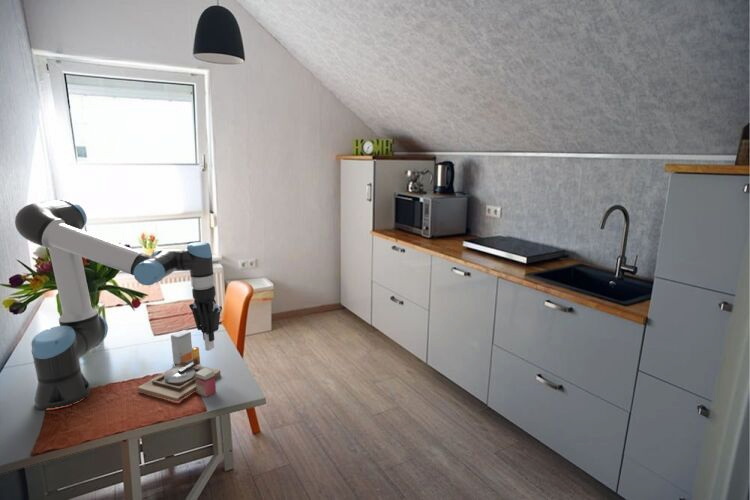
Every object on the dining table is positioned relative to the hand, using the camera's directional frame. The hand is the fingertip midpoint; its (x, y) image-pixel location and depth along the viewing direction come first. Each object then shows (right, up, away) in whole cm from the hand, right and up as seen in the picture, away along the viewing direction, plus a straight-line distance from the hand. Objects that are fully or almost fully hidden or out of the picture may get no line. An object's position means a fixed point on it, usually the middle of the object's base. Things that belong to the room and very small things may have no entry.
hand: (209, 348), depth 157 cm
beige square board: (-9, -12, -2) cm, 15 cm away
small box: (+2, -13, -8) cm, 16 cm away
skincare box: (-16, -8, +14) cm, 23 cm away
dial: (-9, -9, -1) cm, 13 cm away
